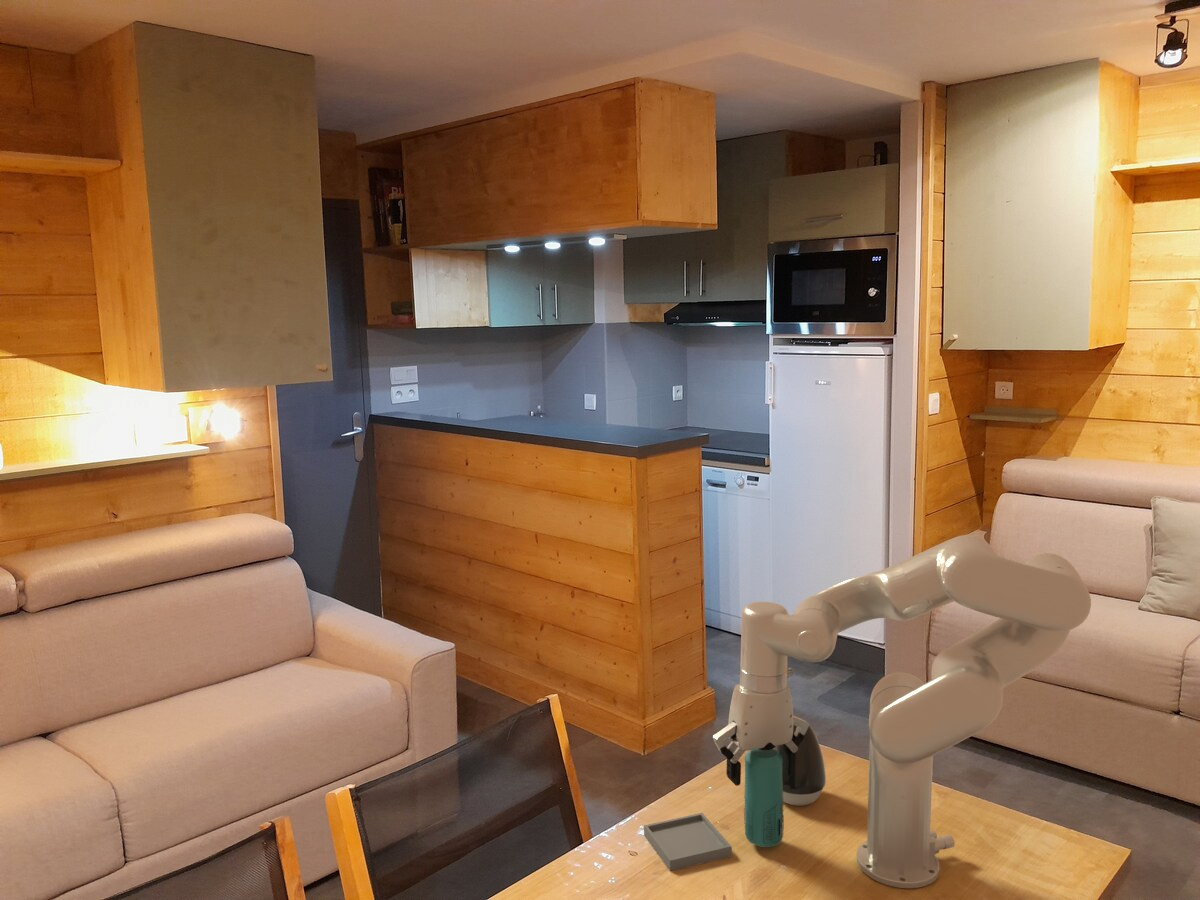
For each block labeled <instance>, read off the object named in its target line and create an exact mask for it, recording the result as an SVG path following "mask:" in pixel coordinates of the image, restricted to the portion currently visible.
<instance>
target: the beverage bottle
mask: <svg viewBox="0 0 1200 900" xmlns="http://www.w3.org/2000/svg"><path fill="white" fill-rule="evenodd" d="M775 747H776V746H774V745H773V744H772V743H771V742H770V743H767V744H766V746H764V748H760V749H755V750H748V752H746V753H745V754H744V793H743V798H744V801H743V802H744V808H743V809H744V811H743V823H744V826H743V827H744V834H745V838H746V839H747V841H748V842H749V843H751V844H753V845H755V846H757V847H762V848H770V847H775V846H777V845H779V844H780V843H781V842H782V841H783V838H784V829H785V825H784V822H785V821H784V819H785V818H784V816H785V815H784V810H785V809H784V801H783V800H784V799H783V798H784V797H783V792H784V791H783V786H784V784H783V783H782V780H783V779H782V763H783V759H782V756H781V755H780V754H779V753H778V752H777V751H775V750H774V749H773V748H775Z"/></svg>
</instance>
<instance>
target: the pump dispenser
mask: <svg viewBox="0 0 1200 900" xmlns="http://www.w3.org/2000/svg"><path fill="white" fill-rule="evenodd" d="M796 728H797V726H795V725H793V732H794V731H796ZM782 745H783V744H782ZM780 746H781V745H777V746H776V747H775V748H773V749H774V750H775V751H777V752H778V753H779V754H780ZM826 778H827V777H826V768H825V762H824V756H823V752H822V748H821V746H820V742H819V740H818V737H817V734H816V732H815V731H814V729H813V728H812V725H810V724H809V727H808V729H807V731H806V733H805V734H804V739H803V741H802V742H801V743H800V744H799V745H798V750H797V751H796V752H795V753H794V767H793V771H792V775H791V776H788V775H787V774H786V773H785V772H783V771H782V779H783V780H782V783H783V784H784V786H783V791H784V792H783V797H784V798H783V799H784V800H783V803H785V804H788V805H792V806H796V807H797V806H798V807H799V806H800V807H801V806H807V805H810V804H811V805H812V804H813V803H814V802H816V800H818V799H819V797H821V794H822V792H823V789H824V788H825V786H826V782H827V781H826Z"/></svg>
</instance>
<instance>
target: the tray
mask: <svg viewBox="0 0 1200 900" xmlns="http://www.w3.org/2000/svg"><path fill="white" fill-rule="evenodd" d="M643 836H644V837H645V838H646V840H647V841H648V842H649V844H650V846H651V847H652V848H653V850H654V851H655V852H656V854H657V855H658V857H659V858H660V859H661V860H662V862H663V863H664V865H665V866H666V867H667V869H668V870H669V871H670V872H671V871H676V870H680V869H684V868H688V867H693V866H697V865H701V864H705V863H709V862H714V861H717V860H718V861H719V860H722V859H726V858H730V856H731V857H732V845H731V844H730V843H729V842H728V841H727V839H726V838H725V837H724V836H723V835H722V834H721V833H720V831H719V830H718V829H717V828H716V827H715V825H714V824H713V823H712V822H711V821H710V820H709V819H708V818H707V816H706V815H705V814H704V812H699V813H696V814H690V815H686V816H681V817H676V818H671V819H668V820H663V821H659V822H654V823H653V822H652V823H650V824H645V825H643ZM725 857H726V858H725Z"/></svg>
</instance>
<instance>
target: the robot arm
mask: <svg viewBox="0 0 1200 900" xmlns="http://www.w3.org/2000/svg"><path fill="white" fill-rule="evenodd" d="M953 602H954V603H957V604H958V605H960V606H963V607H965V608H967V609H969V610H973V611H976V612H979V613H981V614H984V615H989V616H991V617H996V618H998V619H997V620H995V621H993V622H992V623H991V624H989V625H988V626H986V627H984V628H983V629H980V630H979V631H977V632H975V633H973V634H971V635H969V636H967V637H966V638H964V639H962V640H959V642H956V643H954V644H952V645H951V646H950V645H949V647H946V648H945V649H943V650H940V652H939V653H938V654H937V655H936V656H935V658H934V660H933V662H932V665H931V671H930V672H931V673H930V674H931V680H929V681H927V682H926V683H925V682H924V681H923V680H922V679H920V678H919V677H917V676H916V675H914V674H911V673H908V672H903V671H897V672H895V671H894V672H891V673H889V674H886V675H885V676H883V677H882V678H880V679H879V680H878V682H877V683H876V684H875V686H874V687H873V689H872V691H871V695H870V699H869V717H868V733H869V755H868V756H869V759H868V761H869V762H868V763H869V764H868V786H867V787H868V791H867V792H868V793H867V795H868V796H867V801H868V802H867V834H866V835H867V836H866V838H867V839H866V841H865V842H863V843H861V844H860V845H859V847H858V849H857V851H856V862H857V865H858V866H859V868H860V870H861V871H862V872H863V873H864V874H865V875H867V876H868V877H869V878H871V879H872V880H874V881H876V882H878V883H881V884H882V885H886V886H889V887H893V888H900V889H918V888H922V887H923V888H924V887H926V886H929V885H930V884H932V883H933V882H935V881H936V880H937V879H938V877H939V875H940V862H939V859H938V858H937V857H936V854H939V852H940V851H942V850H946V849H951V848H954V847H955V839H954V837H953V836H951V835H950V834H947V835H946V834H945V835H941V836H939V837H938V835H937V832H936V831H935V830H933V829H932V830H931V823H932V820H931V818H932V817H931V816H932V813H931V812H932V795H933V794H932V792H933V791H932V790H933V772H934V771H933V766H934V764H933V763H934V756H935V755H937V754H939V753H941V752H943V751H945V750H947V749H949V748H951V747H953V746H955V745H958V744H959V743H961V742H962V741H965V740H967V739H969V738H970V737H973V736H975V735H976V734H978V733H980V732H982V731H983V730H985V729H986V728H988V727H989V726H990V725H991V724H992V723H993V722H994V721H995V720H996V719H997V717H998V716H999V714H1000V712H1001V710H1002V708H1003V703H1004V691H1003V689H1004V688H1005V687H1008V686H1009V685H1011V684H1013V683H1014V682H1016V681H1017V680H1019V679H1021V678H1022V677H1024V676H1026V675H1027V674H1029V673H1031V672H1032V671H1034V670H1036V669H1037V668H1039V667H1042V665H1044V664H1045V663H1046V662H1048V661H1049V660H1050V659H1051V658H1053V656H1054V655H1056V653H1057V652H1059V650H1060V649H1061V648H1062V646H1063V645H1064V643H1065V642H1066V640H1067V638H1068V636H1069V634H1070V632H1071V630H1073V629H1075V628H1077V627H1079V626H1080V625H1082V624H1083V623H1084V622H1085V621H1086V619H1088V616H1089V615H1090V612H1091V609H1092V608H1091V606H1092V598H1091V595H1090V592H1089V589H1088V588H1087V586H1086V584H1085V582H1084V581H1083V579H1082V577H1081V575H1080V574H1079V572H1078V571H1077V570H1076V568H1075V566H1074V565H1072V563H1071V562H1070V561H1068V560H1067V559H1066V558H1064V557H1063V556H1061V555H1060V554H1059V555H1058V554H1056V553H1049V552H1048V553H1046V552H1045V553H1044V552H1043V553H1039V554H1037V555H1034V556H1032V557H1030V558H1029V559H1027V560H1026V561H1025V563H1022V562H1018V561H1015V560H1011V559H1007V558H1004V557H1002V556H999V555H997V553H996V551H995V550H994V548H993V547H992V545H991V544H989V542H987V541H986V540H985V539H983V538H981V537H980V536H977V535H974V534H962V535H958V536H955V537H952V538H950V539H947V540H945V541H943V542H941V543H939V544H937V545H935V546H932V547H930V548H928V549H926V550H924V551H922V552H919V553H917V554H915V555H912V556H911V557H909V558H907V559H904V560H902V561H899V562H898V563H895V564H893V565H891V566H888V567H886V568H883V569H881V570H878V571H874V572H870V573H867V574H864V575H860V576H856V577H853V578H850V579H846V580H844V581H842V582H839V583H836V584H834V585H832V586H830V587H828V588H825V589H823V590H821V591H819V592H817V593H815V594H813V595H810V596H809V597H807V598H806V599H804V600H802V602H800V603H799V604H798V605H797V607H796V609H795V611H794V613H793V614H789V613H788V610H787V609H786V608H785V607H784V605H783V606H782V605H780V604H778V603H776V602H770V601H756V602H755V601H754V602H751V603H749V604H746V605H745V607H744V608H743V610H742V611H741V625H740V627H741V629H740V632H741V633H740V635H741V636H740V637H741V638H740V661H739V662H740V667H739V669H740V670H739V671H740V672H739V683H738V684H735V685H734V688H733V690H732V691H733V692H732V696H731V700H730V707H729V714H728V724H727V725H726V726H725V727H724V728H722V729H721V730H719V731H717V733H715V734H713V735H712V740H713V743H714V744H715V746H716V749H717V750H718V751H719V752H720V753H721V754H722V755H723V756H724V757H725V758H726V770H725V772H726V777H727V778H728V779H729V780H730V781H731V782H732V783H733V785H734V786H736V787H737V786H740V785H741V780H742V779H741V777H742V776H741V773H742V763H741V762H740V761H739V760H740V759H741V758H742V756H743V754H745V751H750V750H755V749H760V748H764V746H766V744H767V743H770V742H771V743H772V744H773V745H774V746H777V745H781V746H780V755H781V756H782V759H783V763H782V771H783V772H785V773H786V774H787V775H788V776H791V775H792V771H793V767H794V753H795V752H796V751H797V750H798V745H799V744H800V743H801V742H802V741H803V739H804V734H805V733H806V731H807V729H808V727H809V725H810V723H809V722H808V721H806V720H805V719H803V718H800V717H798V716H796V715H794V708H793V698H792V694H791V689H790V685H789V684H788V678H789V677H792V676H793V675H794V670H793V668H791V667H788V657H790V658H792V659H796V660H797V661H798V660H799V661H803V662H808V663H819V662H823V661H825V660H826V659H828V658H829V657H830V656H831V655H832V654H833V652H834V650H835V648H836V644H837V643H836V642H837V639H838V634H839V633H841V632H844V631H846V630H847V629H851V628H853V627H855V626H858V625H860V624H863V623H865V622H868V621H872V620H875V619H876V620H877V619H890V620H895V621H899V622H909V621H912V620H915V619H917V618H919V617H921V616H922V615H925V614H928V613H930V612H933V611H935V610H937V609H939V608H942V607H943V606H946V605H949V604H950V603H953ZM793 725H795V726H797V728H796V731H794V732H793ZM728 739H729V740H731V741H730V743H729V744H728V745H726V740H728ZM782 744H783V745H782Z"/></svg>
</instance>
